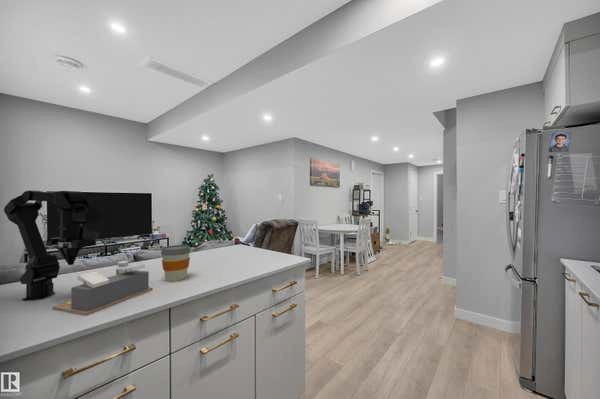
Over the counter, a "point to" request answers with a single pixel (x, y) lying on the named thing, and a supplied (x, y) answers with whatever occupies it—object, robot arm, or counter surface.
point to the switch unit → (106, 293)
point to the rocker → (131, 268)
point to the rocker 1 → (93, 279)
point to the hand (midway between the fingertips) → (71, 264)
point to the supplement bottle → (122, 266)
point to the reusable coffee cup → (175, 262)
